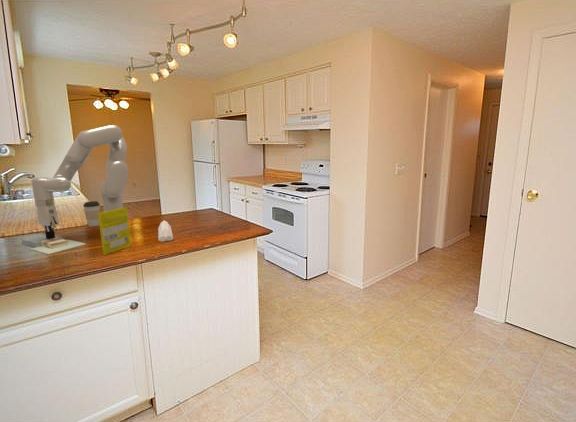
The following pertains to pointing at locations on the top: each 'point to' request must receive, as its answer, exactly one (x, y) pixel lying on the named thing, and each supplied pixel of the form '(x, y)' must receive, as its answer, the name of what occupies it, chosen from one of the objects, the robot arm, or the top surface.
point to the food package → (114, 230)
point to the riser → (36, 240)
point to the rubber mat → (49, 251)
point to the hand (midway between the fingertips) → (50, 238)
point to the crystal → (165, 232)
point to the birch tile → (54, 243)
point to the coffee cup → (92, 212)
